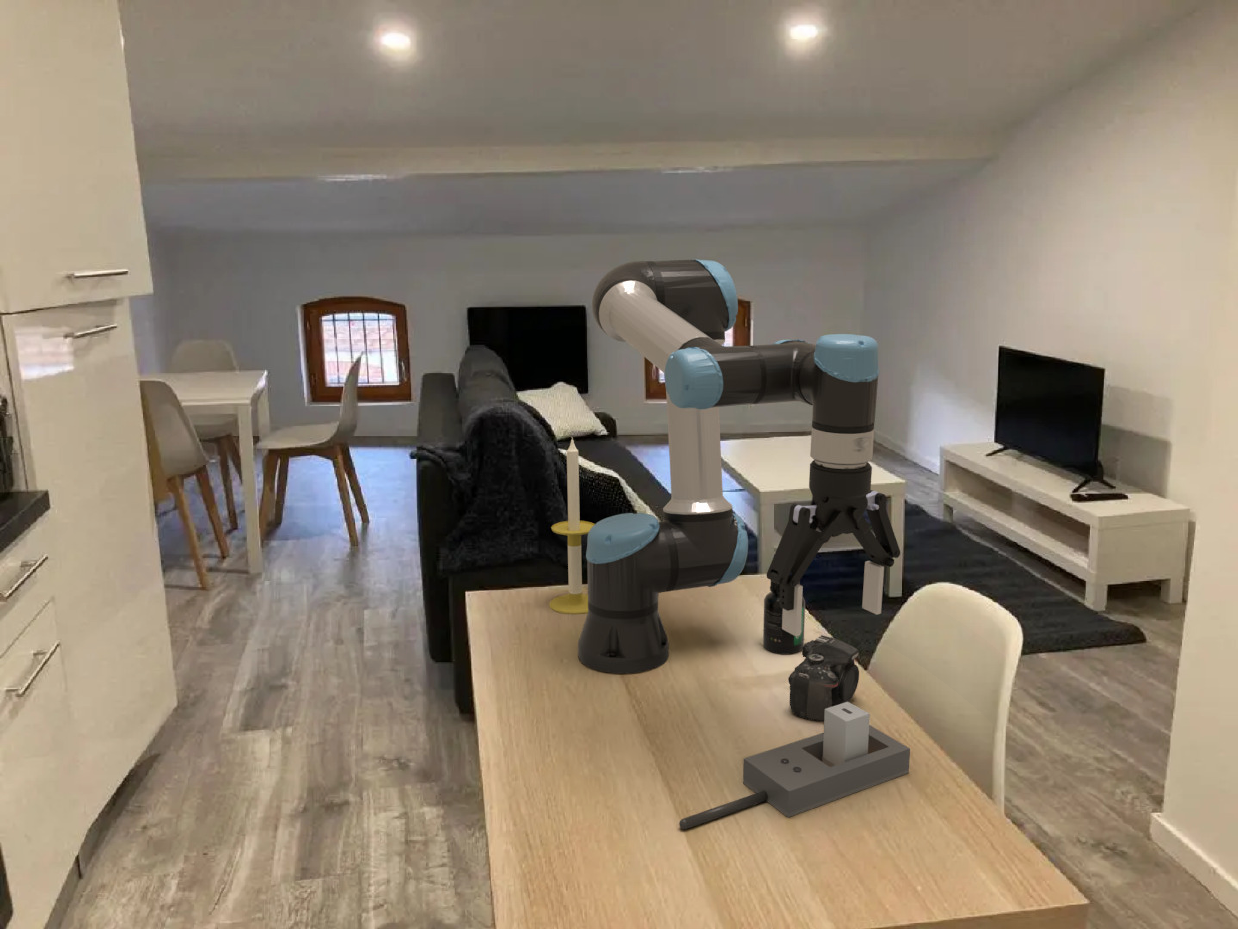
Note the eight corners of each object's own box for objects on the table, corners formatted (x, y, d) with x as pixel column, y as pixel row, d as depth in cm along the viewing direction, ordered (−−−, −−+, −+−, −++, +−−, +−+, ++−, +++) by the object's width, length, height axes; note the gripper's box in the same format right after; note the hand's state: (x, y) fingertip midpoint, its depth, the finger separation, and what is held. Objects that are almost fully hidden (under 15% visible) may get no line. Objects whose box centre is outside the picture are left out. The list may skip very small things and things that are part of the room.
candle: (612, 603, 192) (610, 436, 184) (575, 618, 185) (571, 445, 177) (576, 591, 198) (573, 429, 191) (538, 605, 191) (533, 437, 184)
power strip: (701, 849, 115) (701, 821, 115) (659, 811, 123) (659, 784, 122) (908, 773, 131) (910, 747, 130) (860, 743, 139) (861, 719, 138)
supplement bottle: (809, 653, 168) (811, 585, 166) (769, 656, 167) (771, 588, 165) (796, 637, 175) (798, 572, 172) (758, 640, 174) (759, 574, 171)
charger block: (821, 765, 132) (824, 708, 130) (845, 756, 134) (847, 700, 132) (843, 779, 129) (846, 721, 127) (867, 770, 131) (870, 713, 129)
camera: (856, 727, 144) (859, 662, 141) (786, 719, 146) (788, 655, 144) (858, 687, 156) (861, 626, 154) (793, 680, 159) (795, 621, 156)
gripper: (781, 481, 115) (774, 652, 121) (936, 455, 127) (923, 611, 133) (741, 467, 122) (736, 630, 127) (892, 443, 134) (882, 593, 139)
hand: (832, 621), depth 130 cm, fingers open, 13 cm apart
